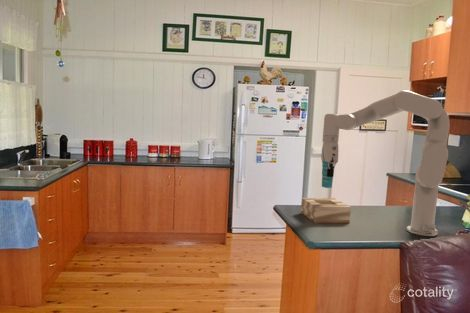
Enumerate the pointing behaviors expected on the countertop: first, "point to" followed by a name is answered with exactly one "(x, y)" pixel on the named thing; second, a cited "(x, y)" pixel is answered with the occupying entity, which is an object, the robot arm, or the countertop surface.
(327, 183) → the tube
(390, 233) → the countertop surface
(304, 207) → the socket block
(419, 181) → the robot arm
